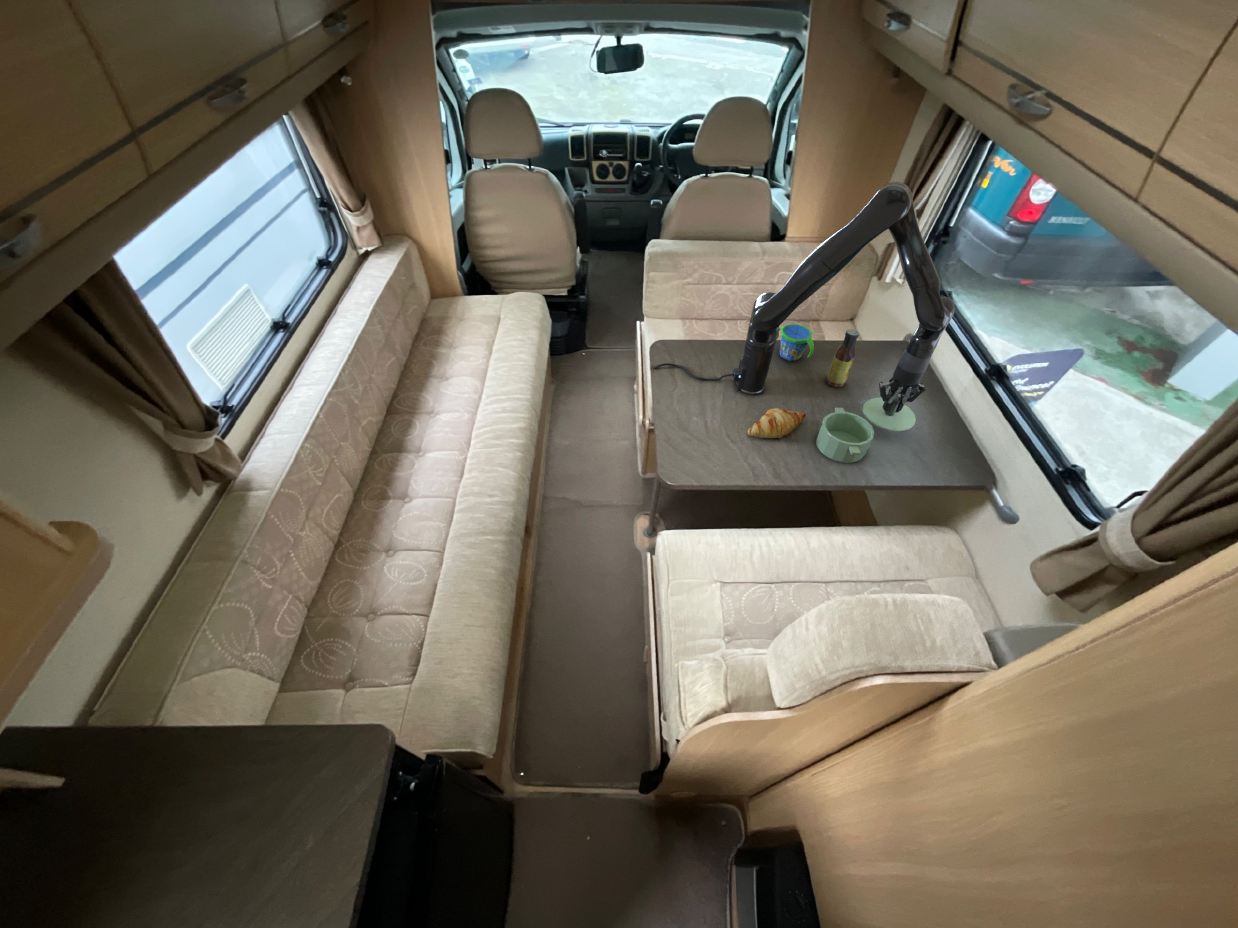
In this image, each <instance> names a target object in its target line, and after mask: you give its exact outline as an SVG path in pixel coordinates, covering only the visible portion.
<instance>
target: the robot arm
mask: <svg viewBox="0 0 1238 928" xmlns="http://www.w3.org/2000/svg"><path fill="white" fill-rule="evenodd" d="M887 230H888V231H889V233H890V235H891V237H892V240H893V242H894V244H895V247H896V251H897V254H898V258H899V259H898V260H899V263H900V266H901V270H902V273H903V276H904V278H905V280H906V283H907V285H908V288H909V290H910V292H911V294H912V299H913V306H914V311H915V315H916V319H917V321H918V323H919V324H918V326H917V327H916V329H915V331H913V333H912V334H911V336H910V339H909V341H908V343H907V345H906V347H905V349H904V351H903V352H902V353H901V356H900V358H899V360H898V362H897V364H896V367H895V369H894V371H893V373H892V377H891V378H890V379H889V380H888V381H887V382H883V381H880V382H879V383H878V387H879V396H880V398H882V400H883V401H884V404H883V406H882V407H883V410H884V411H885V412H888V410H889V408H890V406H891V404H892V403H891V402H892V401H893V400H894V398H896V397H897V396H899V397H900V398H901V402H900V404H899V406H898V408H897V410H896V412H899V411H901V410H902V408H903V406H904V405H906V403H913V402H914V401H915V400H916V399H917V398H918V397H920V396H921V395H923V393H924V392H925V391H926V390H927V388H926V387H925V385H924V383H923V382H921V380H922V378H923V376H924V375H925V373H926V370H927V368H928V367H929V364H930V362H931V359H932V356H933V354H934V352H935V350H936V349H937V346H938V344H939V341H940V339H941V337H942V335H943V333H944V332H945V331H946V329H947V327H948V326H949V323H950V322H951V320H952V318H953V316H954V314H955V311H956V306H955V303H954V301H953V299H951V298H950V297H947V296H942V295H941V293H940V289H941V286H942V283H941V279H940V276H939V273H938V271H937V268H936V266H935V263H934V261H933V258H932V257H931V255H930V252H929V249H928V247H927V245H926V243H925V240H924V238H923V236H922V233H921V229H920V227H919V223H918V219H917V216H916V211H915V206H914V200H913V192H912V190H911V188H910V187H909V186H908V185H907V184H906V183H904V182H901V181H891V182H888V183H886V184H884V185H882V187H881V188H880V189H878V190H877V192H876V193H875V194H874V195H873V196H872V198H871V199H870V201H868V202H867V204H866V205H865V206H864V207H863V208H862V209H861V210H860V212H859V213H857V215H855V217H854V218H852V219H851V221H850V222H848V223H847V224H846V225H845V226H843V227H842V228H840V229H839V230H838V231H836V232H834V233H833V234H832V235H830V236H829V237H828V238H826V239H825V240H824V241H822V242H821V243H820V244H819V245H818V246H817V247H816V248H814V250H812V251H811V252H810V253H809V254H808V255H807V256H806V257H805V258H804V259H803V260H802V261H801V262H800V264H799V265H798V266H797V268H796V269H795V271H793V273H792V275H791V276H790V277H789V279H788V280H787V282H786V283H785V284H784V285H783V286H782V288H781V289H780V290H779V291H777V293H775V292H771V291H768V292H764V293H762V294H760V295H759V296H758V297H757V298H756V299H755V300H754V302H753V305H752V309H751V314H750V319H749V324H748V328H747V334H746V337H745V338H746V339H745V344H744V348H743V353H742V356H741V357H740V358H739V363H738V367H733V369H732V373H727V374H723V375H721V376H720V377H715V378H705V377H700V376H697V375H694V374H693V373H691V372H690V371H689V370H688V369H687V368H686V367H684V366H683V365H679V364H675V363H668V362H667V363H666V362H664V363H660V364H657V365H656V366H653V370H656V369H658V368H660V367H664V366H665V367H666V366H669V367H670V366H671V367H675V368H679V369H681V370H683V371H684V372H685V373H687V375H689V376H690V377H691V378H693V379H696V380H700V381H706V382H711V381H712V382H713V381H714V382H715V381H716V382H717V381H721V380H722V379H723V378H727V377H732V379H733V382H735V383H736V385H735V386H736V390H737V392H741V393H743V394H746V395H750V396H755V395H759V394H761V393H762V392H764V390H765V386H766V381H767V378H768V374H769V370H770V366H771V363H772V362H771V361H772V359H773V355H774V351H775V347H776V343H777V340H778V338H777V334H778V330H779V328H780V327H781V325H782V324H783V323H784V322H785V320H787V318H788V317H789V316H791V314H792V313H794V311H795V310H796V309H797V308H798V307H799V306H800V305H801V304H803V303H804V302H806V300H808V299H809V298H810V297H811V296H813V295H814V294H815V293H816V292H818V291H819V290H820V289H821V288H822V287H823V286H825V285H826V284H828V282H830V281H831V280H832V279H833V278H835V277H836V276H837V275H838V274H839V273H840V272H841V271H842V270H844V268H846V266H848V265H849V264H850V263H851V262H852V261H853V260H854V259H855V258H856V257H857V256H858V254H859V253H860V252H861V251H862V250H863V249H864V248H865V247H866V246H867V245H869V244H870V243H871V242H872V241H874V240H875V239H876V238H878V237H879V236H880V235H882V234H883V233H884V232H886V231H887ZM779 331H780V330H779ZM887 391H888V392H887Z"/></svg>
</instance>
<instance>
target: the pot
mask: <svg viewBox="0 0 1238 928" xmlns="http://www.w3.org/2000/svg"><path fill="white" fill-rule="evenodd" d="M872 425H873V424H872V423H871V422H870V421H869V420H868V419H865V418H864V417H862V416H860V415H858V414H857V413H853V412H849V411H845V409H844V407H835V408H834V412H830V413H828V414H827V415H825V416H824V417H823V420H822V422H821V425H820V427H819V430H818V433H817V435H816V439H815V443H816V447H817V449H818V451H819V452H821V453H822V454H823V455H824V456H825V457H826V458H828V459H830V460H832V461H835V462H839V463H846V464H852V463H856V462H859V461H860V460H862V459H863V458H864V457H865V456H866V454H867V452H868V450H869V447H870V446H871V443H872V441H873V439H874V436H875V430H874V428H873V426H872Z"/></svg>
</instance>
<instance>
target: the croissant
mask: <svg viewBox="0 0 1238 928" xmlns="http://www.w3.org/2000/svg"><path fill="white" fill-rule="evenodd" d="M806 417H807V414H806V413H805V411H800V412H799V411H797V410H793V411H791V410H787V409H784V408H779V407H774V408H769V409H768V410H767V411H766V412H765V414H763V415H762V416H761V417H760V419H759V420H758V421H756V422H754V424H753V425H752V427H749V428H748V430H747V431H746V432H747V435H748V436H751V437H755V438H761V439H776V438H777V439H782V437H784V436H787V435H789V434H790V433H792V432H794V430H795V429H797V428H798V426H799V425H802V423H803V422H804V419H805V418H806Z"/></svg>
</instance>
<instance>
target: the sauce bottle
mask: <svg viewBox="0 0 1238 928" xmlns="http://www.w3.org/2000/svg"><path fill="white" fill-rule="evenodd" d="M859 336H860V332H859V331H858V330H857V329H853V328H849V329H846V331H845V332H844V338H843V341H842V343H841V344H840V345H838V346H837V348H836V351H835V354H834V356H833V359H832V362H831V365H830V368H829V371H828V374H827V379H826V382H827V384H828V385H829V386H830V387H834V388H842V387H844V386H845V385H846V383H847V380H848V377H849V375H850V372H851V368H852V366H853V363H854V360H855V357H856V342H857V340H858V338H859Z"/></svg>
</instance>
